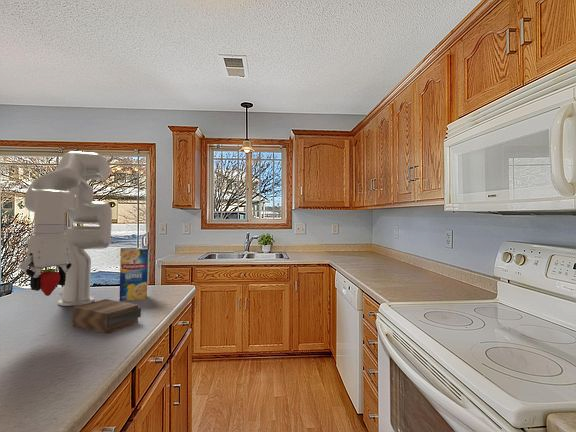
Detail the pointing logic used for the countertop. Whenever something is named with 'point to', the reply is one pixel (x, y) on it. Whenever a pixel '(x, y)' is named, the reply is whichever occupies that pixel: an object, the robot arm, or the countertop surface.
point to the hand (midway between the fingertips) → (48, 286)
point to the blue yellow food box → (133, 273)
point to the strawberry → (49, 280)
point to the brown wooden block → (105, 315)
